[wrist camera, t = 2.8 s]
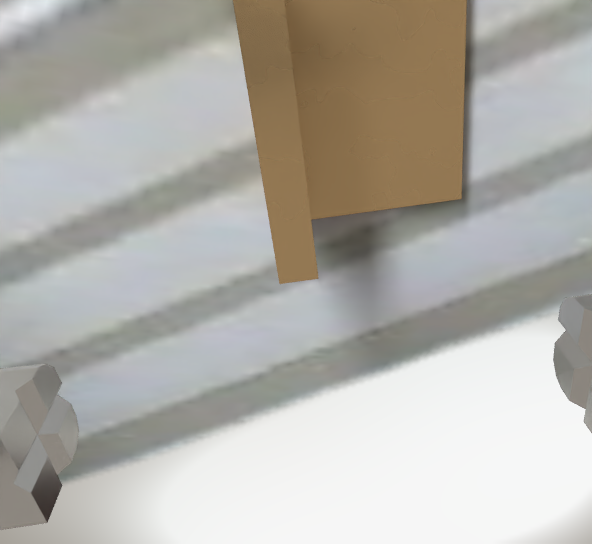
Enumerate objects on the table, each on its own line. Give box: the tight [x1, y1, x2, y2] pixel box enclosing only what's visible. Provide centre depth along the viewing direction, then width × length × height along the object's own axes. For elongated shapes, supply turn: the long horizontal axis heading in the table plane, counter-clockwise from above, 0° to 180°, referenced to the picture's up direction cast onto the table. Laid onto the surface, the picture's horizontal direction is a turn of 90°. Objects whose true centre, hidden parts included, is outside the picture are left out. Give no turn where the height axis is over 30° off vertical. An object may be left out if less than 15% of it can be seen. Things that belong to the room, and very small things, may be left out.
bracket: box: [233, 0, 467, 284], centre depth 21 cm, size 9×10×7 cm
